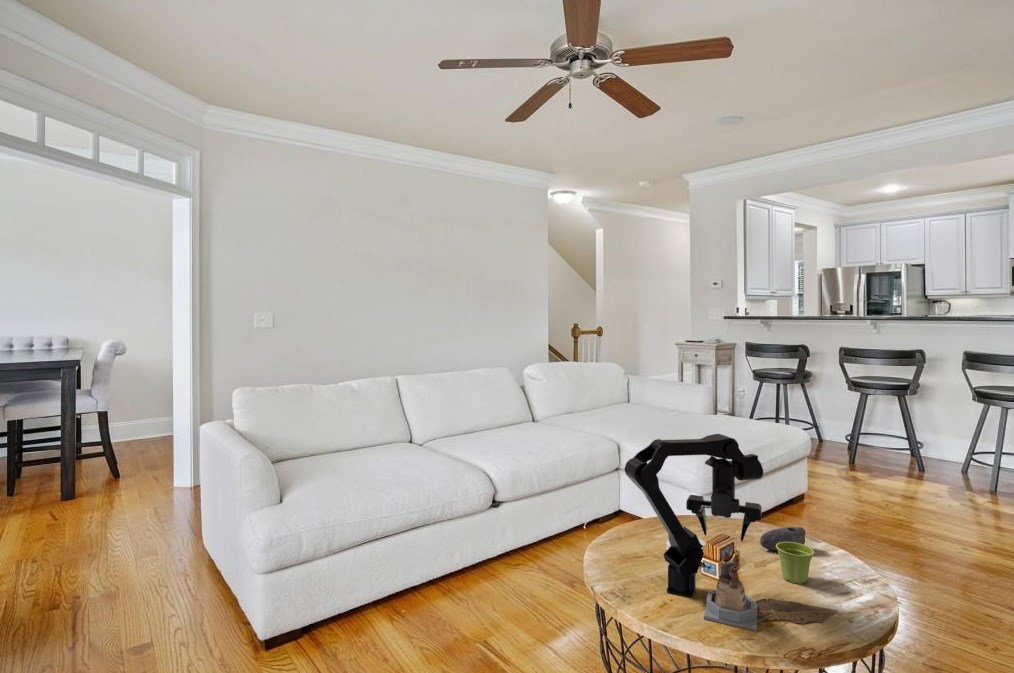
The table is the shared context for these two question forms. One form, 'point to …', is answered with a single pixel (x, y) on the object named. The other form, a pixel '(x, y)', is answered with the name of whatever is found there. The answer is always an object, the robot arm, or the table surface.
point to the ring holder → (731, 613)
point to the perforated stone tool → (782, 537)
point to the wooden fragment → (791, 611)
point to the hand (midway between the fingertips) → (723, 537)
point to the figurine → (730, 589)
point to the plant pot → (794, 561)
